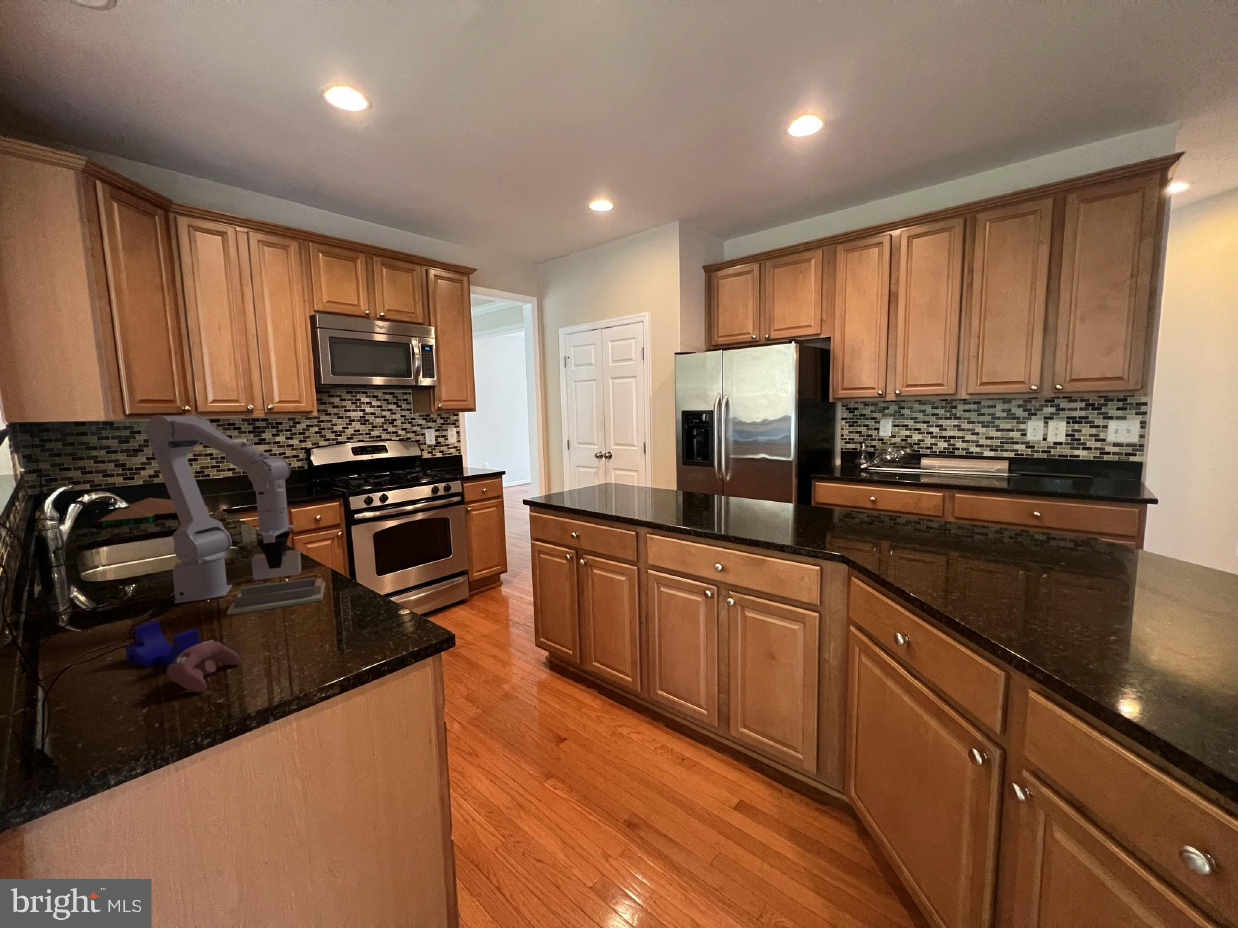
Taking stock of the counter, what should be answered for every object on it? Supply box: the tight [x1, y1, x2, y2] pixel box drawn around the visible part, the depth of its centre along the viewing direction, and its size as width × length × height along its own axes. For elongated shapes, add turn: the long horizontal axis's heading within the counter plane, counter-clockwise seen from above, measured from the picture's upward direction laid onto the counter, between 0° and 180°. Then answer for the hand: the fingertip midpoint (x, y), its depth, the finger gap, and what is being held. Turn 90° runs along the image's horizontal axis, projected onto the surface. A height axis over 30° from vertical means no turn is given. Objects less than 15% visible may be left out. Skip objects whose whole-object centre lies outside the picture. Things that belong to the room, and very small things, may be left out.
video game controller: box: [166, 639, 242, 693], centre depth 83 cm, size 10×5×7 cm, turn 6°
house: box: [98, 497, 177, 528], centre depth 206 cm, size 23×33×8 cm
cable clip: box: [125, 620, 201, 668], centre depth 89 cm, size 12×4×6 cm, turn 73°
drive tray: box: [226, 577, 326, 616], centre depth 118 cm, size 18×12×3 cm, turn 117°
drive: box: [251, 549, 302, 581], centre depth 117 cm, size 9×4×5 cm, turn 117°
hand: (276, 565), depth 117 cm, fingers closed on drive, 4 cm apart
